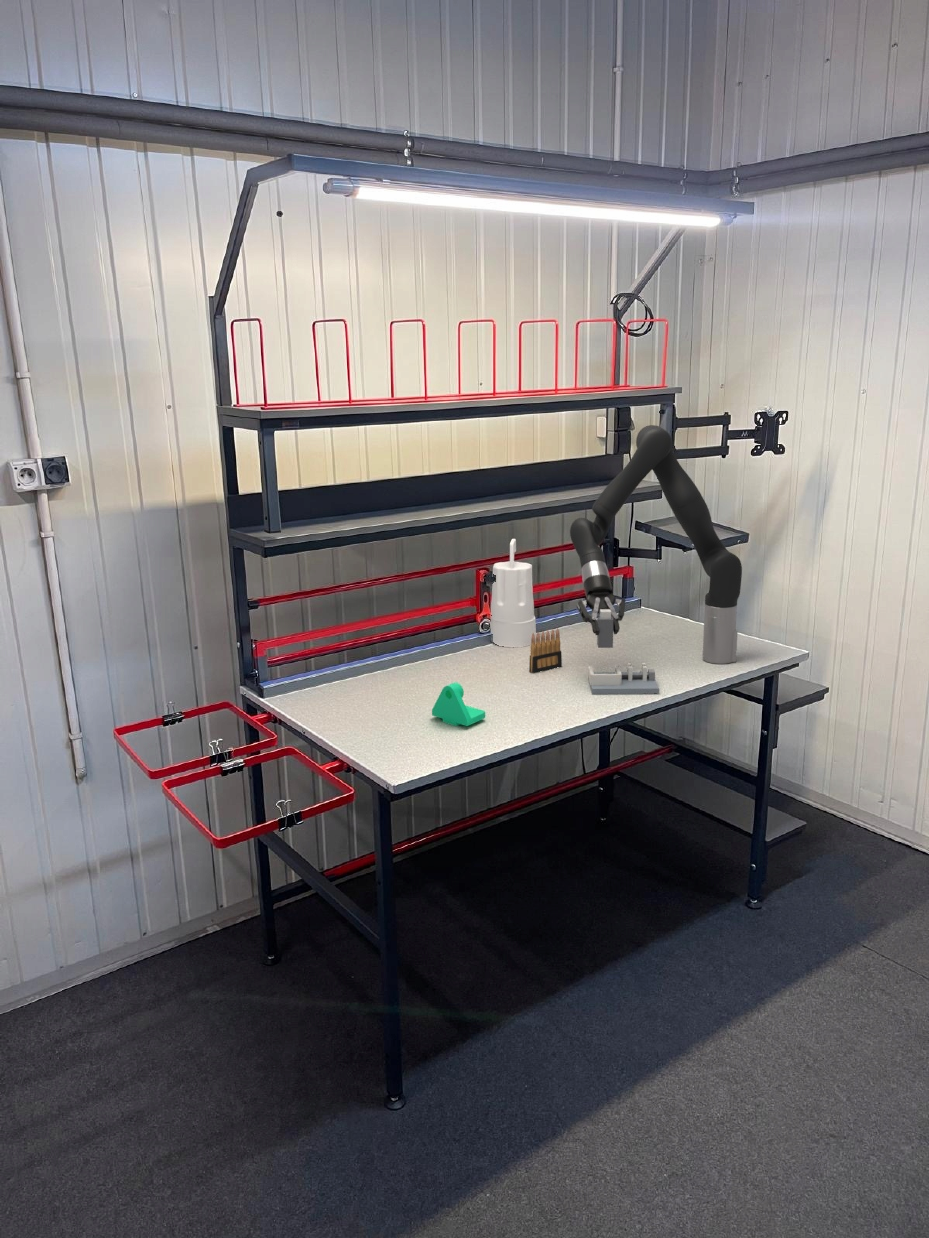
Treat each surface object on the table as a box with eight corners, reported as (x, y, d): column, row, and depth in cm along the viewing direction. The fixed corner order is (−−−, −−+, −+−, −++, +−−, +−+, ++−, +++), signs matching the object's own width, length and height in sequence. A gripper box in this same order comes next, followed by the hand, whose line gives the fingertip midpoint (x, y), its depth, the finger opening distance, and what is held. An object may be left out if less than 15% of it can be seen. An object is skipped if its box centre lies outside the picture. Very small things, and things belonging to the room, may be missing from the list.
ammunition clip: (532, 673, 264) (532, 634, 261) (529, 671, 265) (528, 632, 262) (562, 666, 269) (562, 628, 266) (558, 665, 271) (558, 626, 268)
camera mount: (487, 721, 229) (486, 682, 226) (467, 730, 224) (466, 690, 221) (452, 710, 237) (450, 673, 234) (432, 719, 231) (430, 681, 229)
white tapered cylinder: (488, 634, 304) (487, 537, 296) (533, 633, 305) (532, 535, 296) (492, 648, 289) (490, 545, 281) (538, 646, 290) (538, 544, 281)
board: (651, 677, 258) (652, 658, 256) (658, 694, 244) (659, 674, 243) (587, 677, 259) (587, 659, 257) (591, 694, 245) (591, 674, 244)
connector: (611, 643, 251) (612, 608, 248) (612, 647, 247) (613, 612, 244) (597, 643, 251) (597, 608, 248) (598, 647, 247) (598, 612, 244)
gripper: (573, 574, 250) (583, 628, 242) (624, 572, 252) (635, 625, 243) (569, 588, 257) (578, 641, 248) (618, 586, 258) (629, 638, 250)
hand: (607, 633), depth 246 cm, fingers closed on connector, 4 cm apart
